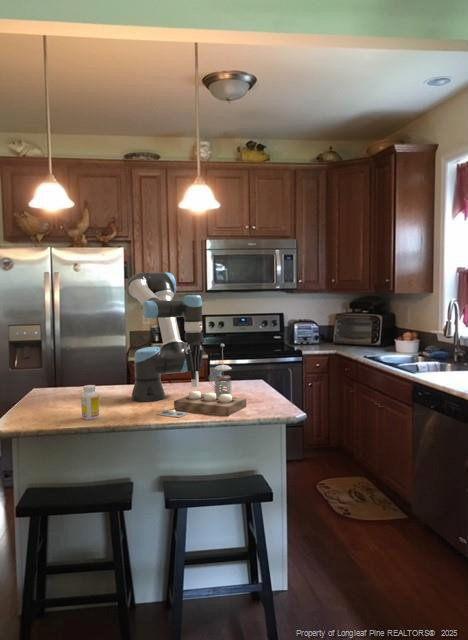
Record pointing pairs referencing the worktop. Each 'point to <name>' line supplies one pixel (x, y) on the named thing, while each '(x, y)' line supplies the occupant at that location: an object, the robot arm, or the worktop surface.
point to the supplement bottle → (89, 403)
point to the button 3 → (226, 398)
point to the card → (172, 413)
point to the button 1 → (194, 395)
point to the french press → (222, 379)
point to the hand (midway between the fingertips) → (195, 386)
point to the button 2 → (210, 397)
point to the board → (210, 405)
